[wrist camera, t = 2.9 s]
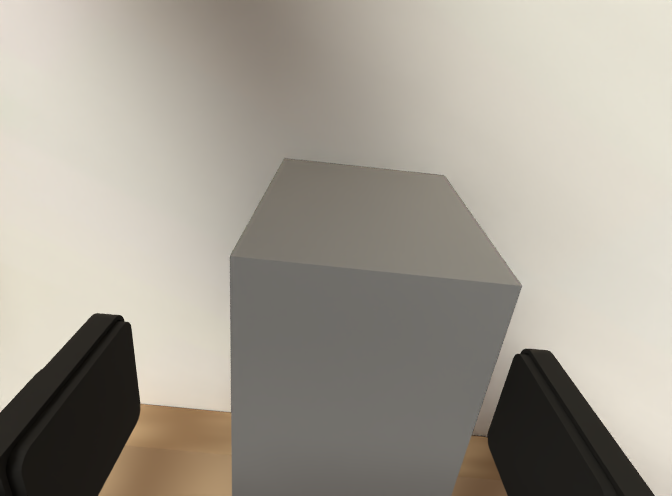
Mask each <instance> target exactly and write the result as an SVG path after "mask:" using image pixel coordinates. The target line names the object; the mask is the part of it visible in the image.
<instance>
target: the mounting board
mask: <svg viewBox="0 0 672 496" xmlns="http://www.w3.org/2000/svg"><path fill="white" fill-rule="evenodd" d="M140 407H141V409H140V416H139V419H138V422H137V424H136V426H135V428H134V429H133V431H132V433H131V435H130V437H129V439H128V441H127V443H126V445H125V446H124V448H123V450H122V452H121V454H120V456H119V458H118V460H117V461H116V463H115V465H114V467H113V469H112V471H111V473H110V475H109V476H108V478H107V480H106V482H105V484H104V486H103V488H102V490H101V491H100V493H99V495H98V496H232V446H231V413H229V412H219V411H208V410H198V409H187V408H177V407H166V406H156V405H145V404H140ZM451 496H507V493H506V490H505V488H504V485H503V483H502V480H501V478H500V475H499V472H498V470H497V467H496V465H495V462H494V460H493V457H492V454H491V452H490V449H489V446H488V437H481V436H471V439H470V441H469V444H468V447H467V450H466V453H465V456H464V459H463V462H462V465H461V468H460V471H459V474H458V477H457V480H456V483H455V486H454V489H453V492H452V495H451Z"/></svg>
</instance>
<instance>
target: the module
mask: <svg viewBox="0 0 672 496" xmlns="http://www.w3.org/2000/svg"><path fill="white" fill-rule="evenodd" d="M521 288H522V285H521V284H520V282H519V281H518V280H517V278H516V277H515V275H514V274H513V272H512V271H511V270H510V268H509V267H508V265H507V264H506V262H505V261H504V260H503V258H502V257H501V255H500V254H499V253H498V251H497V250H496V248H495V247H494V245H493V244H492V243H491V241H490V240H489V238H488V237H487V235H486V234H485V233H484V231H483V230H482V228H481V227H480V226H479V224H478V223H477V221H476V220H475V218H474V217H473V216H472V214H471V213H470V211H469V210H468V208H467V207H466V206H465V204H464V203H463V201H462V200H461V198H460V197H459V196H458V194H457V193H456V191H455V190H454V189H453V187H452V186H451V184H450V183H449V181H448V180H447V179H446V177H445V176H444V175H435V174H426V173H417V172H407V171H398V170H389V169H379V168H370V167H361V166H351V165H342V164H333V163H323V162H314V161H305V160H295V159H286V158H284V160H283V162H282V164H281V165H280V167H279V169H278V171H277V173H276V174H275V176H274V178H273V180H272V181H271V183H270V185H269V187H268V189H267V190H266V192H265V194H264V196H263V198H262V199H261V201H260V203H259V205H258V207H257V208H256V210H255V212H254V214H253V216H252V217H251V219H250V221H249V223H248V225H247V226H246V228H245V230H244V232H243V234H242V235H241V237H240V239H239V241H238V242H237V244H236V246H235V248H234V250H233V251H232V253H231V255H230V319H231V446H232V496H451V495H452V492H453V489H454V486H455V483H456V480H457V477H458V474H459V471H460V468H461V465H462V462H463V459H464V456H465V453H466V450H467V447H468V444H469V441H470V439H471V436H472V433H473V430H474V427H475V424H476V421H477V418H478V415H479V412H480V409H481V406H482V403H483V400H484V397H485V394H486V391H487V388H488V385H489V382H490V379H491V376H492V373H493V370H494V367H495V365H496V362H497V359H498V356H499V353H500V350H501V347H502V344H503V341H504V338H505V335H506V332H507V329H508V326H509V323H510V320H511V317H512V314H513V311H514V308H515V305H516V302H517V299H518V296H519V293H520V290H521Z"/></svg>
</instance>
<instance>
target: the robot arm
mask: <svg viewBox="0 0 672 496" xmlns="http://www.w3.org/2000/svg"><path fill="white" fill-rule="evenodd" d="M140 409H141V407H140V397H139V389H138V380H137V372H136V363H135V355H134V346H133V338H132V329H131V325H130V323H129V322H124V319H123V317H122V316H121V315H111V314H99V313H96V314H94V315H92V316H91V317H90V318H89V319H88V320H87V321H86V323H85V324H84V325H83V326H82V327H81V328H80V329H79V330H78V331H77V332H76V333H75V335H74V336H73V337H72V338H71V339H70V340H69V341H68V342H67V343H66V344H65V345H64V346H63V348H62V349H61V350H60V351H59V352H58V353H57V354H56V355H55V356H54V357H53V358H52V360H51V361H50V362H49V363H48V364H47V365H46V366H45V367H44V368H43V369H42V370H40V371H39V372H38V373H37V374H36V375H35V376H34V377H33V378H32V379H31V380H30V381H29V382H28V383H27V384H26V385H25V387H24V388H23V389H22V390H21V391H20V392H19V393H18V394H17V395H16V396H15V397H14V398H13V399H12V401H11V402H10V403H9V404H8V405H7V406H6V407H5V408H4V409H3V410H2V411H1V412H0V496H98V495H99V493H100V491H101V490H102V488H103V486H104V484H105V482H106V480H107V478H108V476H109V475H110V473H111V471H112V469H113V467H114V465H115V463H116V461H117V460H118V458H119V456H120V454H121V452H122V450H123V448H124V446H125V445H126V443H127V441H128V439H129V437H130V435H131V433H132V431H133V429H134V428H135V426H136V424H137V422H138V419H139V416H140ZM488 446H489V449H490V452H491V454H492V457H493V460H494V462H495V465H496V467H497V470H498V472H499V475H500V478H501V480H502V483H503V485H504V488H505V490H506V493H507V496H655V495H654V494H653V493H652V491H651V490H650V488H649V487H648V486H647V484H646V483H645V482H644V480H643V479H642V477H641V476H640V475H639V473H638V472H637V470H636V469H635V468H634V466H633V465H632V463H631V462H630V461H629V459H628V458H627V457H626V455H625V454H624V452H623V451H622V450H621V448H620V447H619V445H618V444H617V443H616V441H615V440H614V438H613V437H612V436H611V434H610V433H609V431H608V430H607V429H606V427H605V426H604V425H603V423H602V422H601V420H600V419H599V418H598V416H597V415H596V413H595V412H594V411H593V409H592V408H591V406H590V405H589V404H588V402H587V401H586V400H585V398H584V397H583V395H582V394H581V393H580V391H579V390H578V388H577V387H576V386H575V384H574V383H573V381H572V380H571V379H570V377H569V376H568V375H567V373H566V372H565V370H564V369H563V368H562V366H561V365H560V363H559V362H558V361H557V359H556V358H555V356H554V355H553V354H552V353H551V352H550V351H548V350H536V349H524V350H523V351H522V352H521V354H516V355H515V356H514V358H513V361H512V364H511V367H510V370H509V373H508V375H507V378H506V381H505V384H504V387H503V390H502V393H501V396H500V399H499V402H498V405H497V408H496V411H495V414H494V416H493V419H492V422H491V425H490V428H489V431H488Z"/></svg>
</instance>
